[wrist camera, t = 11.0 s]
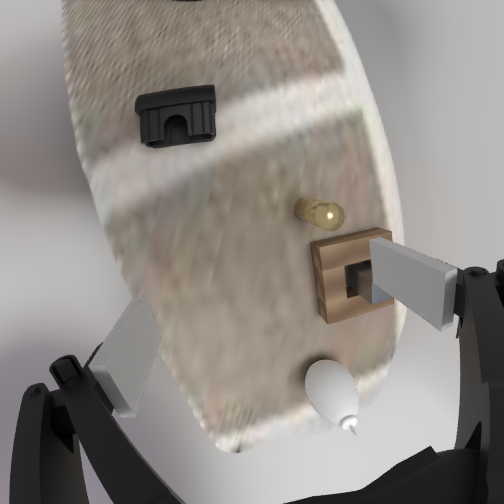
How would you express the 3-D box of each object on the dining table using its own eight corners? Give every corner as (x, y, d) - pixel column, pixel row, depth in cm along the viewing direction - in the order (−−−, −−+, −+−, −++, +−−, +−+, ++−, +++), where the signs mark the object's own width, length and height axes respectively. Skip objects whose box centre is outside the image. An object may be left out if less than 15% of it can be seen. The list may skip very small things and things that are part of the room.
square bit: (341, 262, 43) (371, 282, 33) (358, 258, 43) (392, 276, 33) (342, 281, 43) (371, 304, 34) (359, 277, 43) (391, 298, 34)
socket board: (310, 242, 41) (319, 247, 37) (378, 227, 42) (391, 231, 38) (319, 313, 44) (327, 324, 40) (381, 295, 45) (393, 303, 41)
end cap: (215, 94, 35) (214, 77, 29) (218, 140, 37) (217, 130, 30) (146, 104, 34) (134, 89, 28) (148, 149, 36) (134, 142, 29)
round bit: (293, 199, 40) (316, 204, 30) (314, 196, 40) (342, 200, 30) (296, 221, 40) (320, 233, 31) (317, 218, 41) (345, 228, 31)
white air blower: (334, 380, 48) (373, 446, 30) (295, 385, 47) (324, 458, 29) (342, 347, 46) (389, 411, 29) (300, 351, 45) (337, 424, 28)
